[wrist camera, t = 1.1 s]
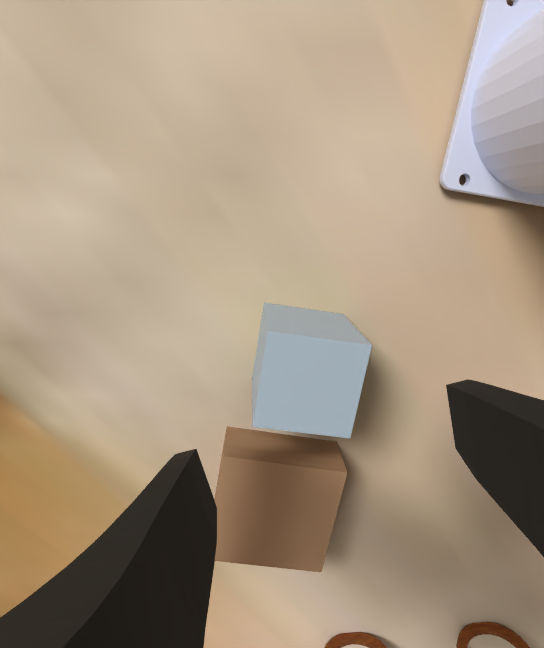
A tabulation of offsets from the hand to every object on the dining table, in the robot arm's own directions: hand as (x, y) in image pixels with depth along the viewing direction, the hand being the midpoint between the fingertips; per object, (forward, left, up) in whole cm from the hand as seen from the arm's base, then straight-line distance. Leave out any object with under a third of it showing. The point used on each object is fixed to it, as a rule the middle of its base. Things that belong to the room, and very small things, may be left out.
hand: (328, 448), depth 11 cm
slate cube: (0, 0, -10) cm, 10 cm away
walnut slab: (0, +8, -10) cm, 13 cm away
